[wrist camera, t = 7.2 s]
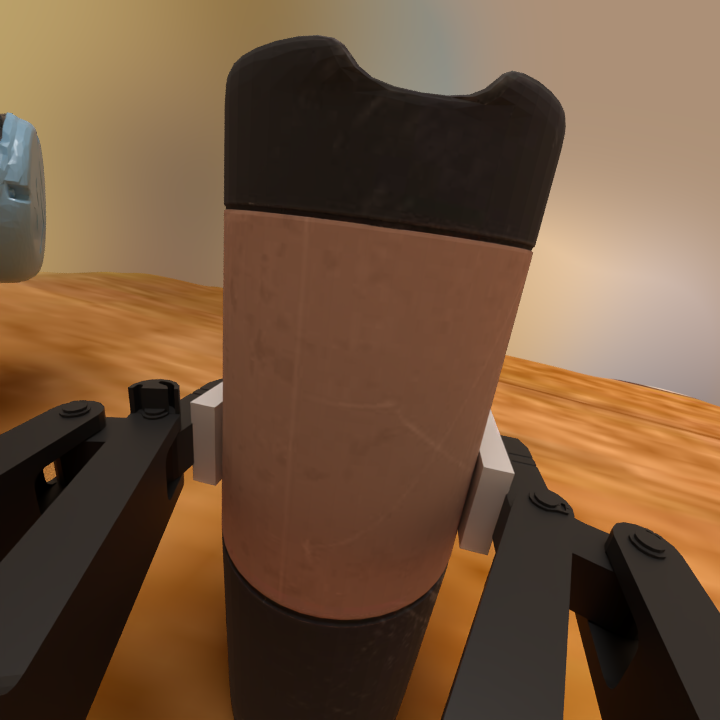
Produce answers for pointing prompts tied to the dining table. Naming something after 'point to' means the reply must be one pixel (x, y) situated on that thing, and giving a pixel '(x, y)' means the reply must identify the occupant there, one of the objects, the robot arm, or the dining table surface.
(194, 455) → the robot arm
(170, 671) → the dining table surface
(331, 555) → the travel mug
